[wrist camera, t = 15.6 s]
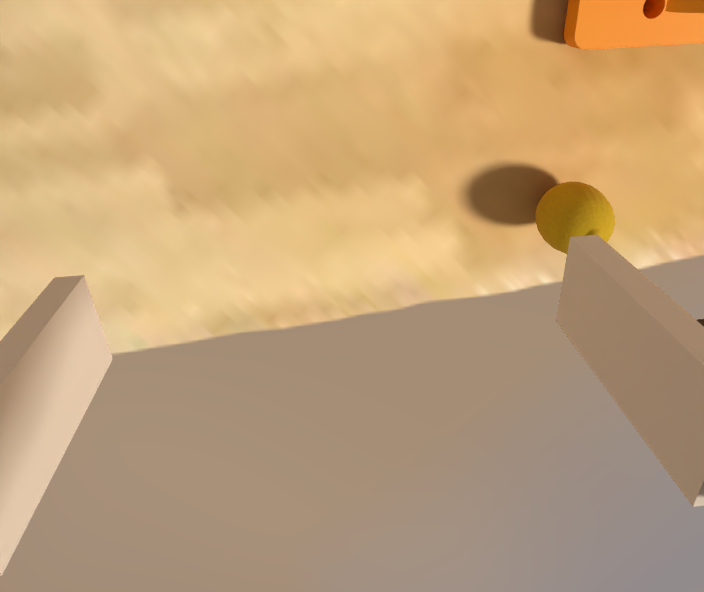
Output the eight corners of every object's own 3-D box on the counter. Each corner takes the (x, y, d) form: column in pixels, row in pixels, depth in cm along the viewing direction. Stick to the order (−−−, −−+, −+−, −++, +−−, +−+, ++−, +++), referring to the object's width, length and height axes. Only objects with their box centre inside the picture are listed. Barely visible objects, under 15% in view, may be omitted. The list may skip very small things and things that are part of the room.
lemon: (597, 187, 47) (648, 222, 40) (558, 239, 49) (599, 281, 42) (548, 158, 45) (592, 190, 38) (509, 214, 48) (544, 253, 41)
